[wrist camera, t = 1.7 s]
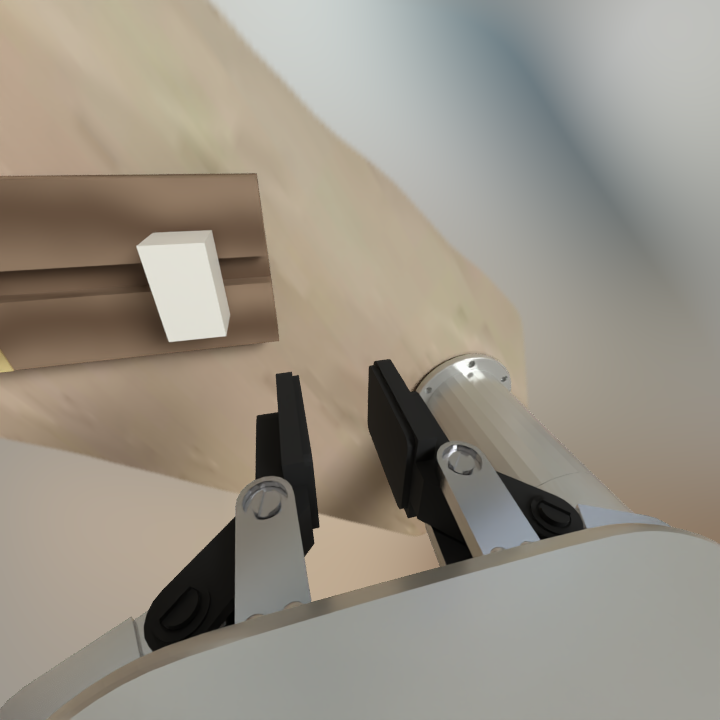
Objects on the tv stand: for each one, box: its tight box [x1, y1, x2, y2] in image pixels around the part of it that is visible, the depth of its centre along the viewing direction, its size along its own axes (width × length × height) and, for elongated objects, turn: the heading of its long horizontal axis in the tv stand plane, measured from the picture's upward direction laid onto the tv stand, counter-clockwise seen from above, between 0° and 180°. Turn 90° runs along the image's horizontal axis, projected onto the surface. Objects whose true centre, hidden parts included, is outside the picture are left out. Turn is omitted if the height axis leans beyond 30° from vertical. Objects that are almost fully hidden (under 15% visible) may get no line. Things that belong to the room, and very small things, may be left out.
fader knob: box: [136, 230, 230, 342], centre depth 23 cm, size 6×4×5 cm, turn 179°
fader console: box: [0, 173, 279, 372], centre depth 24 cm, size 12×24×3 cm, turn 89°
